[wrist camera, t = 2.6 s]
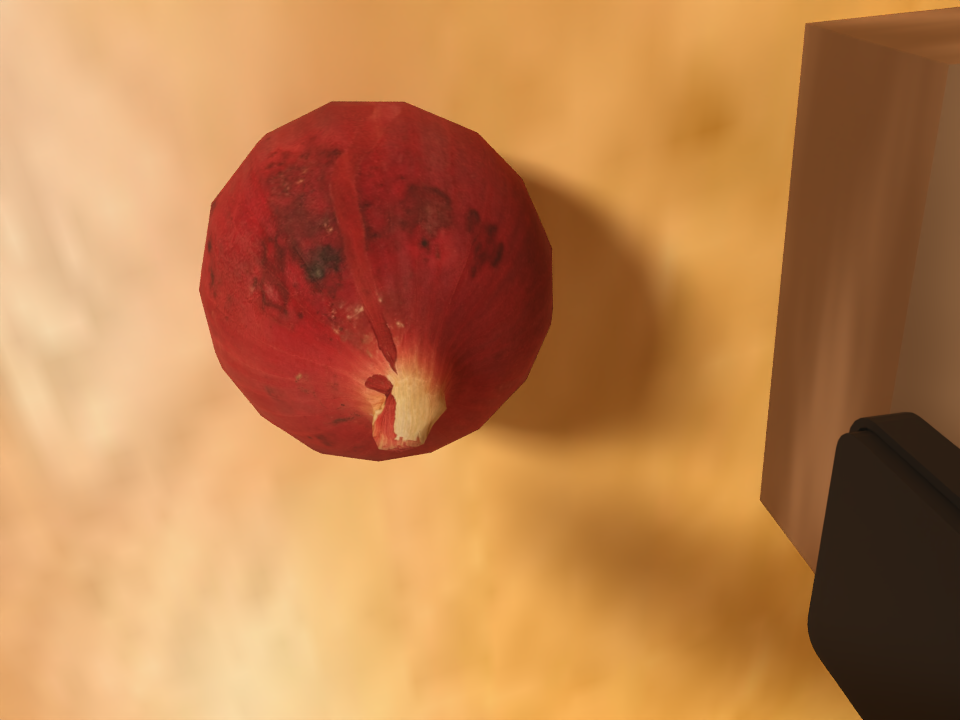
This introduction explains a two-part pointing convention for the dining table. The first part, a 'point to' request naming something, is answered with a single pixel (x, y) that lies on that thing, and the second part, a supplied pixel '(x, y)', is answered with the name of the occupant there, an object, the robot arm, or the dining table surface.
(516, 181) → the onion
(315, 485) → the dining table surface
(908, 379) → the walnut block
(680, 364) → the dining table surface
